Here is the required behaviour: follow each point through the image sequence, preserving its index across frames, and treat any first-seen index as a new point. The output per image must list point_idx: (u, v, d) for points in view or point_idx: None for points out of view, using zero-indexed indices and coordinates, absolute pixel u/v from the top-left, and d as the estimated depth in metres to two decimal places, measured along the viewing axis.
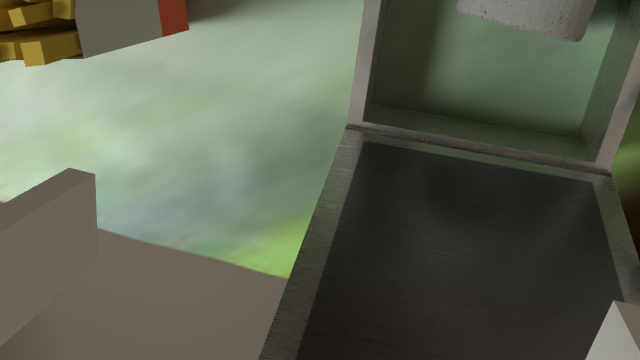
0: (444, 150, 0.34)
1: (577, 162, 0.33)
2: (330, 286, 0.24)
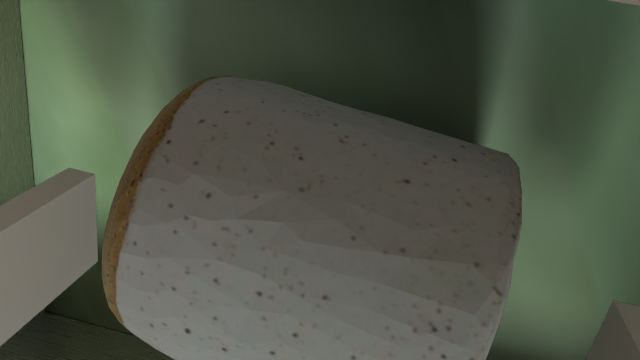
0: None
1: None
2: None
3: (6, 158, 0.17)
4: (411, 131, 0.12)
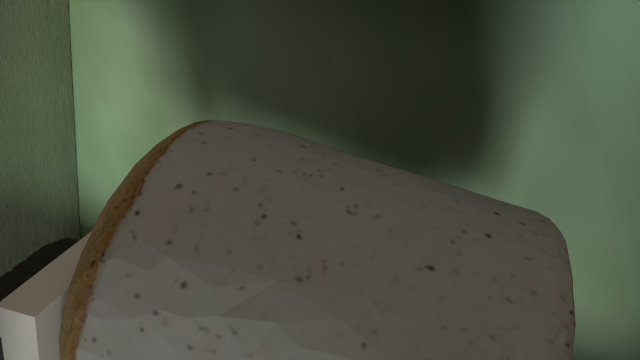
0: None
1: None
2: None
3: (53, 151, 0.18)
4: (434, 194, 0.10)
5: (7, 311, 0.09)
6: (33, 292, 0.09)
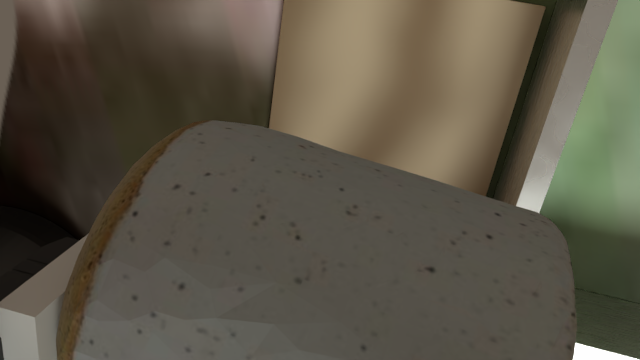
0: None
1: None
2: None
3: None
4: (434, 194, 0.09)
5: (7, 311, 0.09)
6: (33, 292, 0.09)
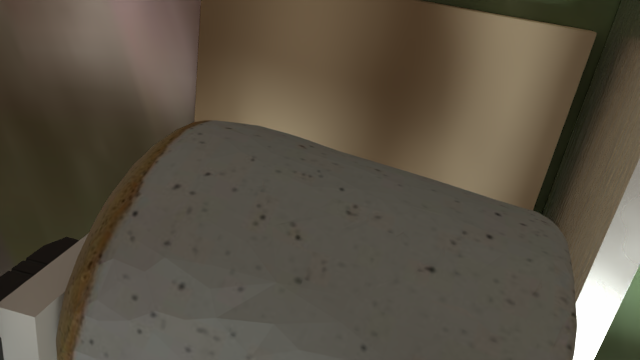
0: None
1: None
2: None
3: None
4: (434, 194, 0.09)
5: (7, 311, 0.09)
6: (33, 292, 0.09)
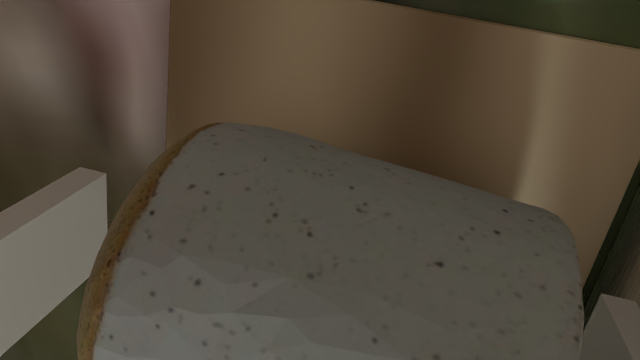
0: None
1: None
2: None
3: None
4: (442, 192, 0.10)
5: None
6: None
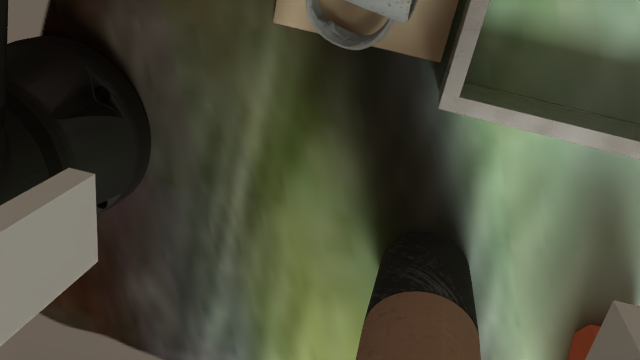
0: None
1: None
2: None
3: None
4: None
5: None
6: None
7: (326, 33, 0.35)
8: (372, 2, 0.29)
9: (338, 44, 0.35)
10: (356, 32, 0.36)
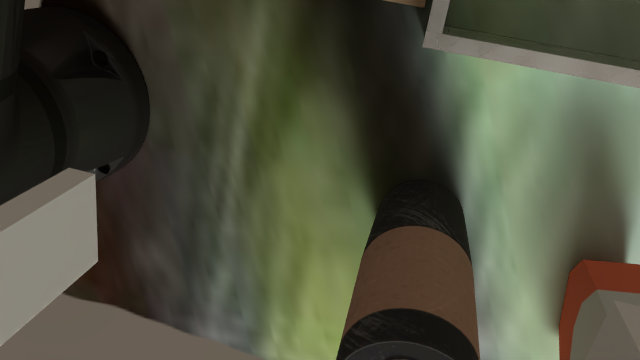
0: None
1: None
2: None
3: None
4: None
5: None
6: None
7: None
8: None
9: None
10: None
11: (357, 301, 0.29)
